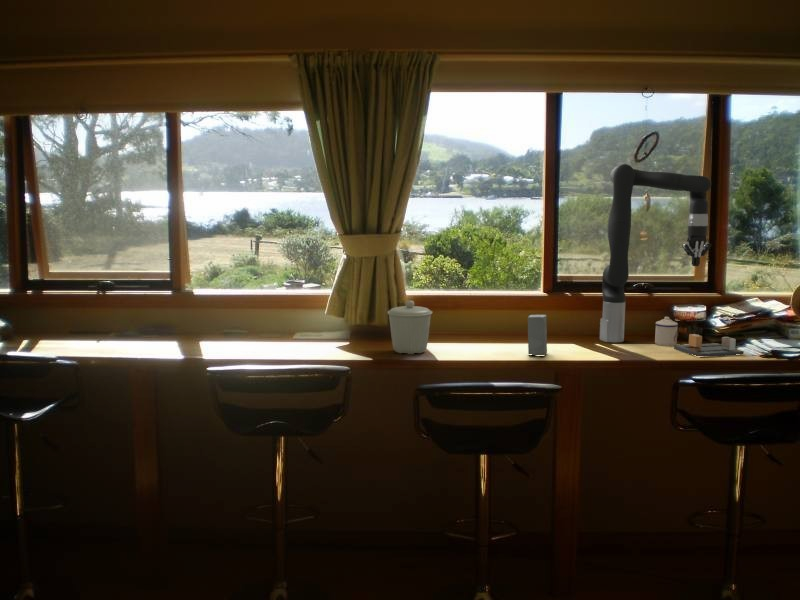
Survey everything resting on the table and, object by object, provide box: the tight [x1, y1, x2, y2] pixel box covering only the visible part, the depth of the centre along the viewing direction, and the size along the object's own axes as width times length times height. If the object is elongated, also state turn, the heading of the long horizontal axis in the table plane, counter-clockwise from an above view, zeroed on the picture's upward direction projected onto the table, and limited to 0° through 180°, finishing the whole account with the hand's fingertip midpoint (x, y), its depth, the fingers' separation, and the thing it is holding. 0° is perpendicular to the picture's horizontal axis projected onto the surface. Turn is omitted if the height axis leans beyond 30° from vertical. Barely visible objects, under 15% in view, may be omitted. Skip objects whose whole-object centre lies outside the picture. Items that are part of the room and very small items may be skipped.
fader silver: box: [721, 336, 737, 350], centre depth 279 cm, size 3×5×5 cm, turn 13°
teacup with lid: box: [654, 316, 679, 347], centre depth 298 cm, size 12×9×12 cm
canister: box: [386, 300, 433, 355], centre depth 281 cm, size 18×18×21 cm
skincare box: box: [527, 314, 548, 356], centre depth 276 cm, size 8×7×16 cm
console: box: [673, 342, 745, 357], centre depth 282 cm, size 20×17×2 cm
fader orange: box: [688, 333, 703, 347], centre depth 284 cm, size 3×5×5 cm, turn 12°
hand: (695, 266), depth 294 cm, fingers closed
